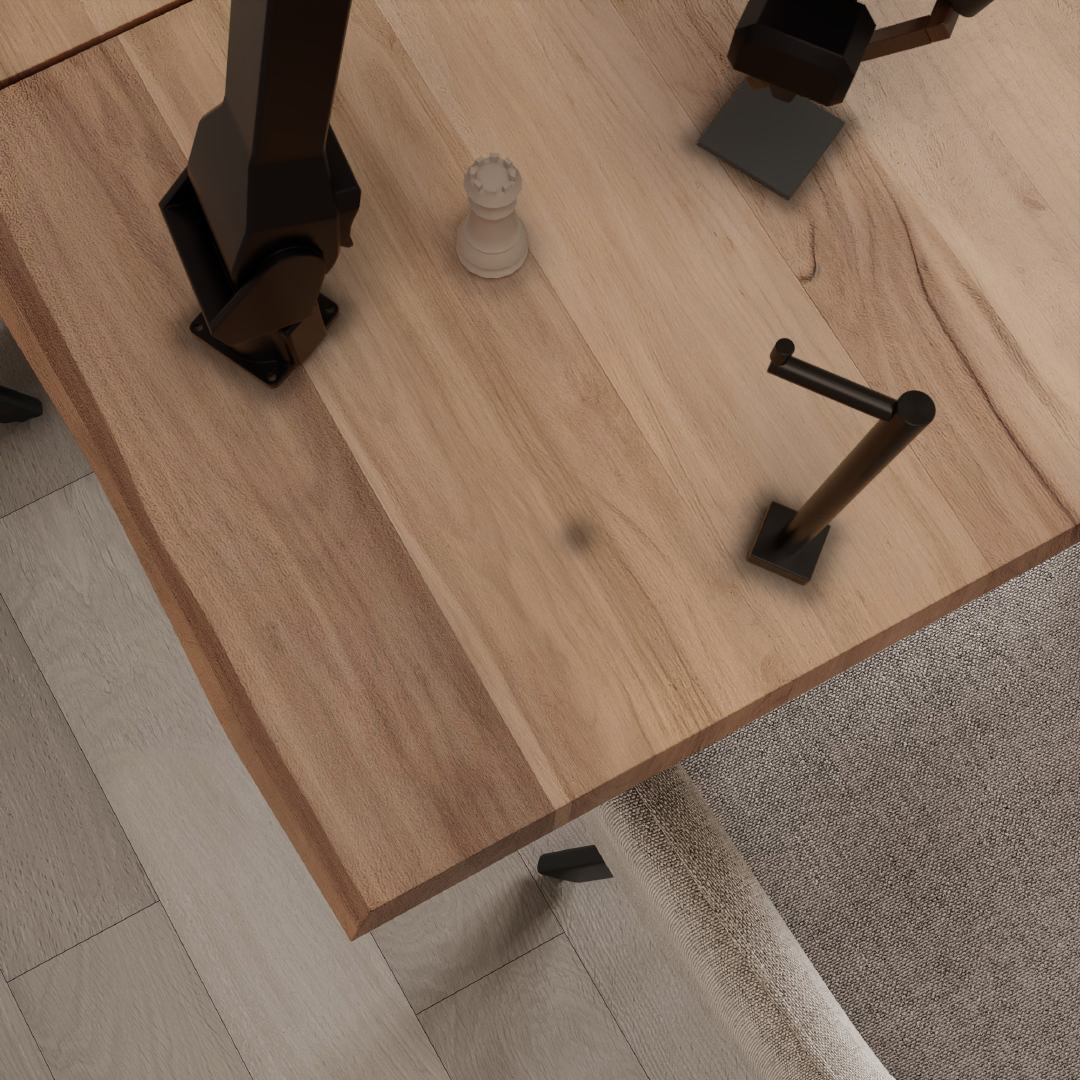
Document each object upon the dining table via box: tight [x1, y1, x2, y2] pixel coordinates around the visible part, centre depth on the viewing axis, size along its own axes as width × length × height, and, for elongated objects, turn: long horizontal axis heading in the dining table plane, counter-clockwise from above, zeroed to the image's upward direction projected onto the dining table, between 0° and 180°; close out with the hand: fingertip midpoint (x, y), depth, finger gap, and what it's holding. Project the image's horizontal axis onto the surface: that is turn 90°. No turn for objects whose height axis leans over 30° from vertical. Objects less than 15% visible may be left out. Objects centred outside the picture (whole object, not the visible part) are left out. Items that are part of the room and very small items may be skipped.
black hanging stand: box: [746, 337, 937, 586], centre depth 53 cm, size 8×4×20 cm, turn 66°
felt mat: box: [696, 79, 846, 201], centre depth 71 cm, size 7×7×1 cm
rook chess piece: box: [455, 151, 529, 279], centre depth 64 cm, size 4×4×8 cm
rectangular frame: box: [744, 0, 960, 90], centre depth 59 cm, size 1×7×13 cm
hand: (802, 52), depth 64 cm, fingers closed on rectangular frame, 7 cm apart
